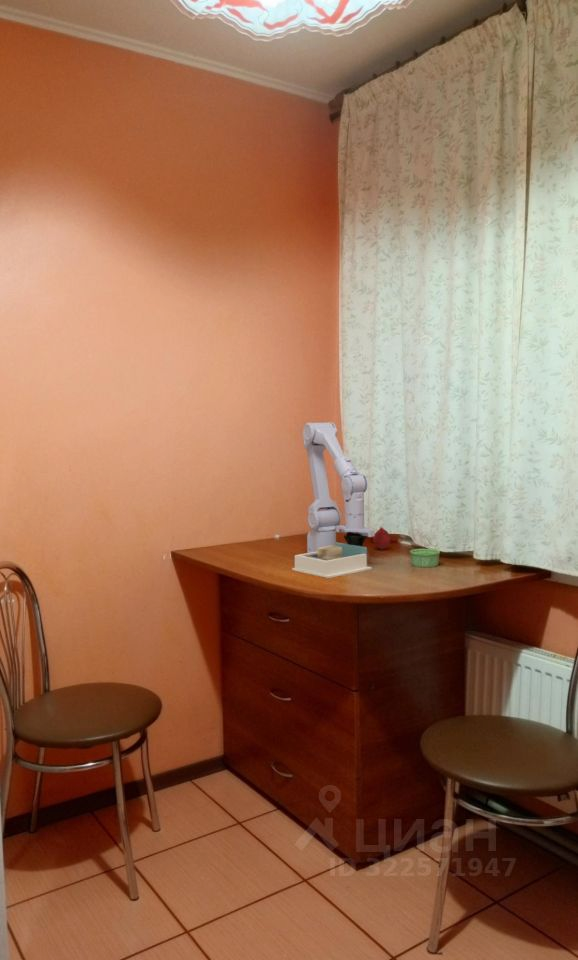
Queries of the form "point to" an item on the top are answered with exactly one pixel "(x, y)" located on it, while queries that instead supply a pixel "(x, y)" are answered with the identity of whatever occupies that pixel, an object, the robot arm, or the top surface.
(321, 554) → the block
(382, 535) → the onion
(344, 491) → the robot arm
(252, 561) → the top surface
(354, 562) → the housing
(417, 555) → the ramekin
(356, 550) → the tray
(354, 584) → the top surface
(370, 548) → the top surface
